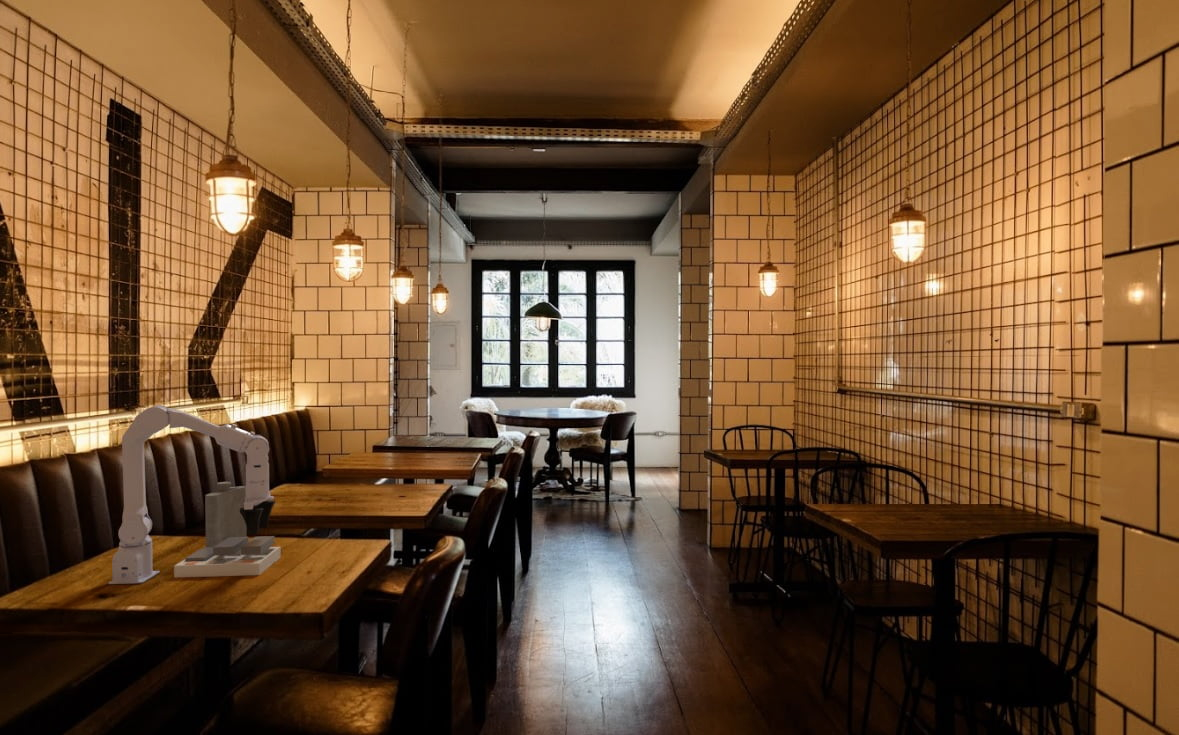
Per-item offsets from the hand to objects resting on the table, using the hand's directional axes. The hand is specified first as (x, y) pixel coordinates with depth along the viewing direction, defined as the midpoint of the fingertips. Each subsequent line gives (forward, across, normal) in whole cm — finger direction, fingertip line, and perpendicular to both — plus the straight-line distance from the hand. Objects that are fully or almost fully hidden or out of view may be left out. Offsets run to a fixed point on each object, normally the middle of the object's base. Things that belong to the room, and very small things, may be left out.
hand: (258, 531), depth 202 cm
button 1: (+8, 0, +14) cm, 16 cm away
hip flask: (+10, +17, +15) cm, 25 cm away
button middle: (+5, 0, +7) cm, 9 cm away
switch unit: (+9, 0, +7) cm, 12 cm away
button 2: (+5, 0, 0) cm, 5 cm away
